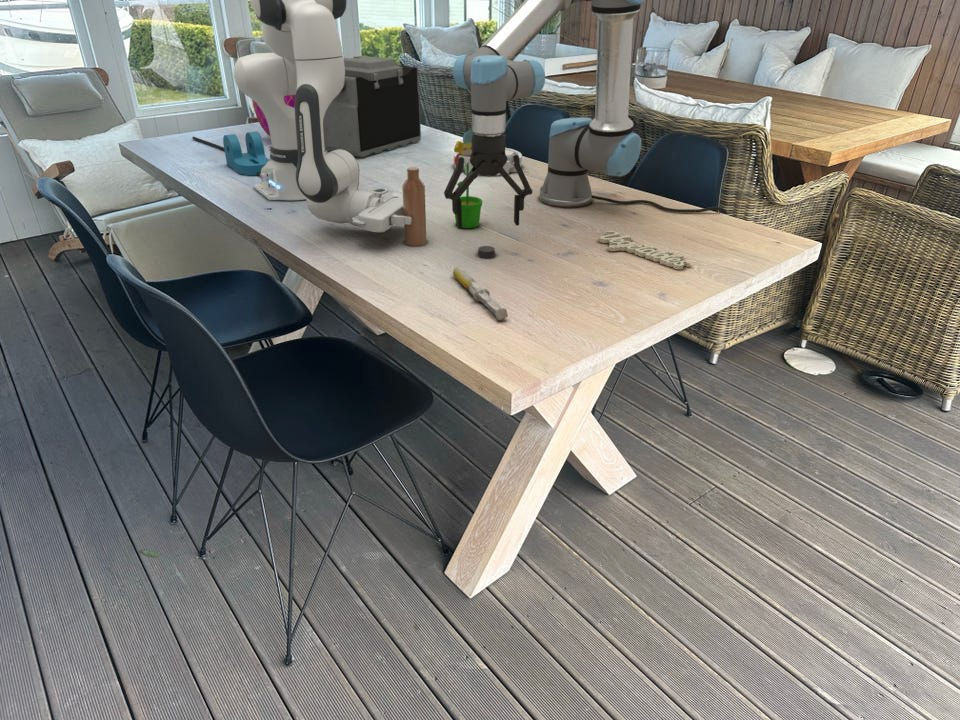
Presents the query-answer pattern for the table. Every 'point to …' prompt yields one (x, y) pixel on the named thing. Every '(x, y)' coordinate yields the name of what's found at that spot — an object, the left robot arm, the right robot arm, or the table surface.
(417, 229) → the bottle
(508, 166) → the ashtray
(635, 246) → the decorative sign
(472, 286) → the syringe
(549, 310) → the table surface
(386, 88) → the grey and black block
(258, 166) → the camera mount
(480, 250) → the cap
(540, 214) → the table surface
